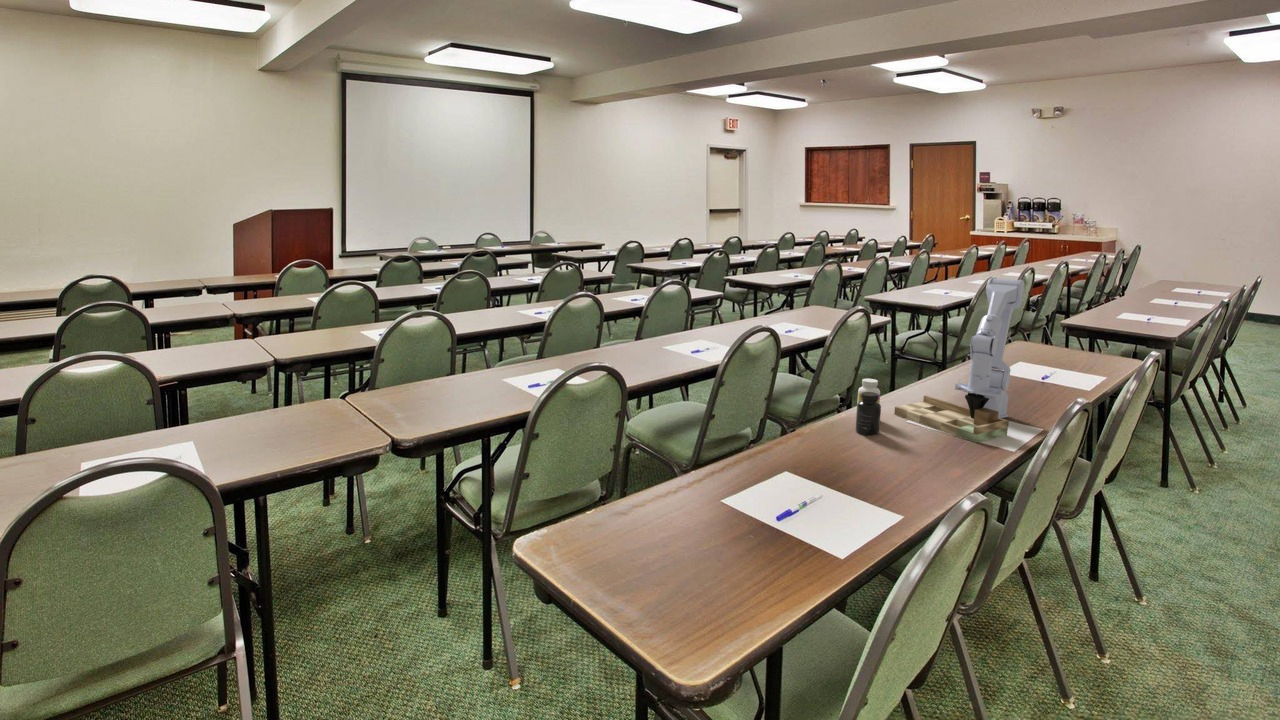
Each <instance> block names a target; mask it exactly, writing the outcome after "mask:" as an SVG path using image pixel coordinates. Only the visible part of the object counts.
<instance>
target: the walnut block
mask: <svg viewBox="0 0 1280 720" xmlns="http://www.w3.org/2000/svg"><path fill="white" fill-rule="evenodd" d="M998 413H999V412H998V411H995V410H991V409H988V408H981V409H975V414H974V423H973V424H975V425H978V426H980V425H985V424H989V423H994V422H997V421H998Z"/></svg>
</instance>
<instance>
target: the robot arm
mask: <svg viewBox="0 0 1280 720" xmlns="http://www.w3.org/2000/svg"><path fill="white" fill-rule="evenodd" d="M985 290H986V291H985V293H986V297H987V302H988V310H987V314H986V315H984V316H983V317H982V318H981V319H980V323H979V325H978V328H977V331H976V334H975V335H972V337H971V338H970V343H969V351H970V353H969V359H970V365H969V373H968V375H969V376H968V383H967V384H966V383H962V382H957V383H955V387H954V390H956V391H962V392H966V393H967V394H965V396H964V398H965V400H966V403H967V405H968V408H969V409H970V415H971V418H972V419H974V414H975V409H981V408H988V409H991V410H995V411H998V412H999V413H998V418H1001V419H1004V418H1008V417H1009V414H1007V411H1008V404H1009V403H1008V402H1009V395H1008V391H1006V390H1008V388H1009V385H1010V379H1011V366H1010V365H1009V364H1008V363H1006V362H1005V361H1004V360H1003V359H1004V355H1005V351H1006V349H1005V348H1006V345H1007V339H1008V335H1009V334H1008V333H1009V329H1010V324H1011V318H1012V315H1013V313H1014V310H1015V309H1018V308H1021V305H1022V301H1023V296H1024V292H1025V282H1024V281H1023V279H1009V278H1008V279H1006V278H994V277H990V278H989V279H988V280H987V283H986V289H985Z"/></svg>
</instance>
